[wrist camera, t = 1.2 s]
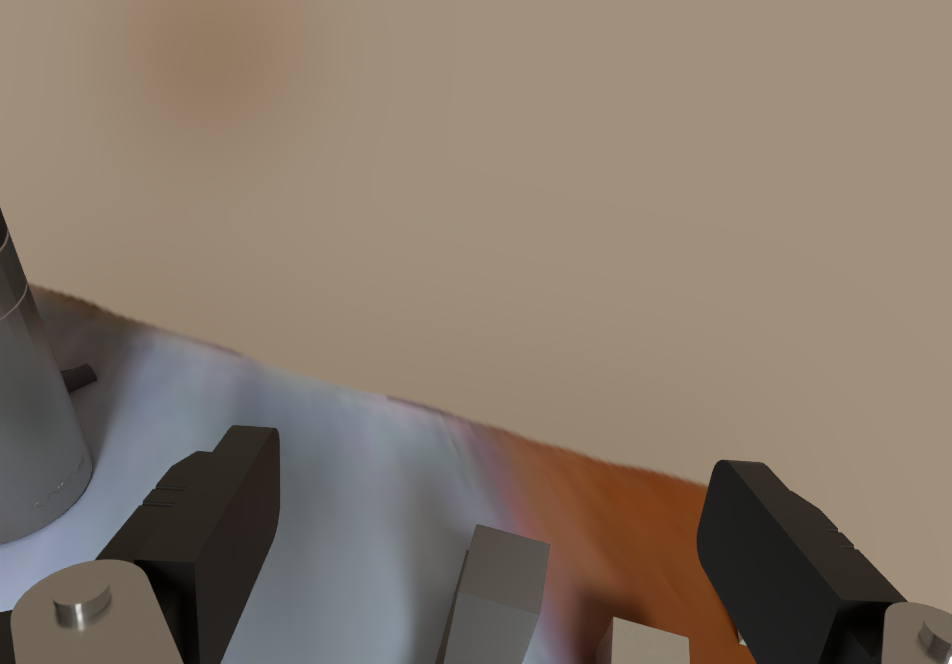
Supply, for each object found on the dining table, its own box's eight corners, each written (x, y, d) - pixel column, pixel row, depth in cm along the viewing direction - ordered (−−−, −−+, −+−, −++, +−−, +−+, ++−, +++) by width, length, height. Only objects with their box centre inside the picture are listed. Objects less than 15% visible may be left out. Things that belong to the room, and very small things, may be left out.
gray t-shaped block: (378, 882, 26) (394, 757, 18) (459, 587, 37) (492, 426, 29) (469, 913, 26) (529, 801, 17) (523, 606, 37) (575, 448, 28)
